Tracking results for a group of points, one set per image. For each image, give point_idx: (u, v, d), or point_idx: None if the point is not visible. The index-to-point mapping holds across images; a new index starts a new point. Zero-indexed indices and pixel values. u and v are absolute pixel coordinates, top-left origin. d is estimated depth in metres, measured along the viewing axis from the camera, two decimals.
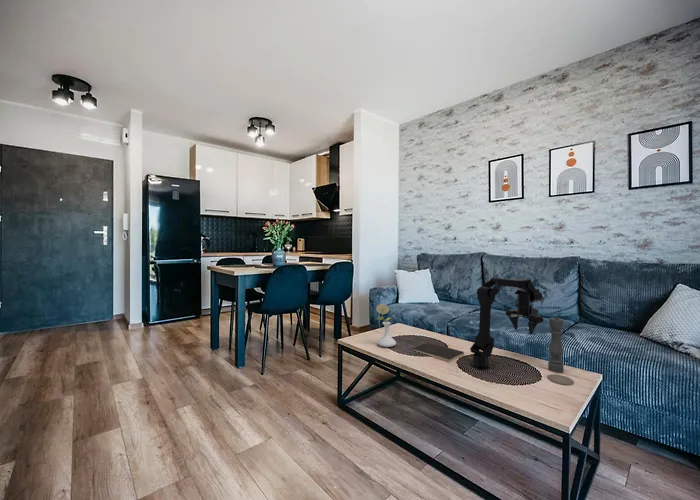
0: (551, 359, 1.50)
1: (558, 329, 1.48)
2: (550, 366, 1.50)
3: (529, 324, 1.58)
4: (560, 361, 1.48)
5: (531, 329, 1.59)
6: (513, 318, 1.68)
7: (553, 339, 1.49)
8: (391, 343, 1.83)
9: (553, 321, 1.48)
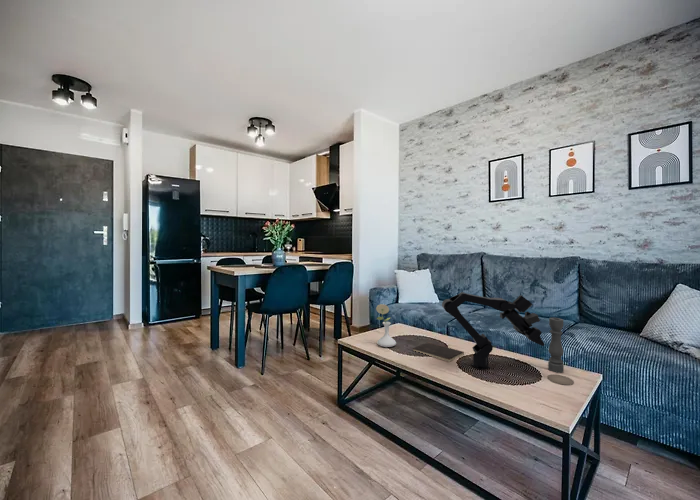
0: (551, 359, 1.50)
1: (558, 329, 1.48)
2: (550, 366, 1.50)
3: None
4: (560, 361, 1.48)
5: (538, 343, 1.46)
6: None
7: (553, 339, 1.49)
8: (391, 343, 1.83)
9: (553, 321, 1.48)
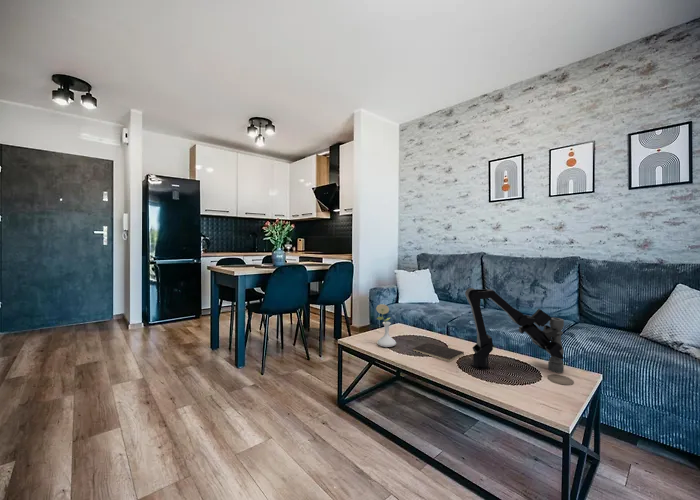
0: (551, 359, 1.50)
1: (558, 329, 1.48)
2: (550, 366, 1.50)
3: None
4: (560, 361, 1.48)
5: (557, 356, 1.46)
6: (543, 346, 1.54)
7: (553, 339, 1.49)
8: (391, 343, 1.83)
9: (553, 321, 1.48)
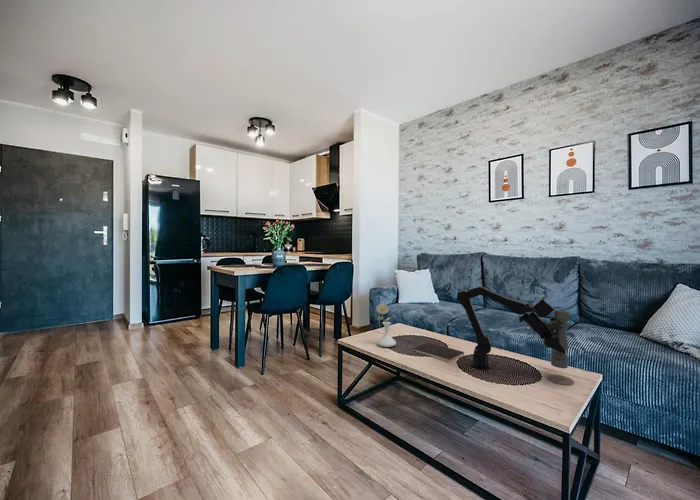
0: (554, 353, 1.40)
1: (562, 321, 1.38)
2: (552, 360, 1.40)
3: None
4: (563, 356, 1.38)
5: (558, 349, 1.37)
6: None
7: (556, 332, 1.40)
8: (391, 343, 1.83)
9: (556, 312, 1.39)
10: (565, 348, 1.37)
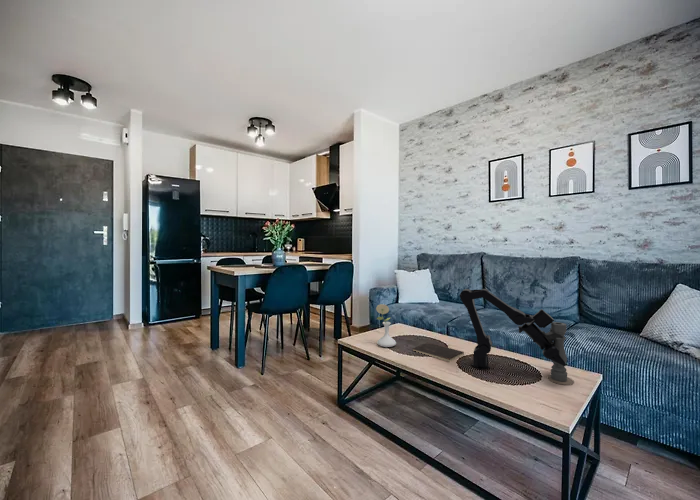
0: (553, 366, 1.40)
1: (559, 334, 1.37)
2: (551, 373, 1.40)
3: None
4: (562, 369, 1.37)
5: (558, 362, 1.35)
6: None
7: None
8: (391, 343, 1.83)
9: (553, 325, 1.39)
10: None
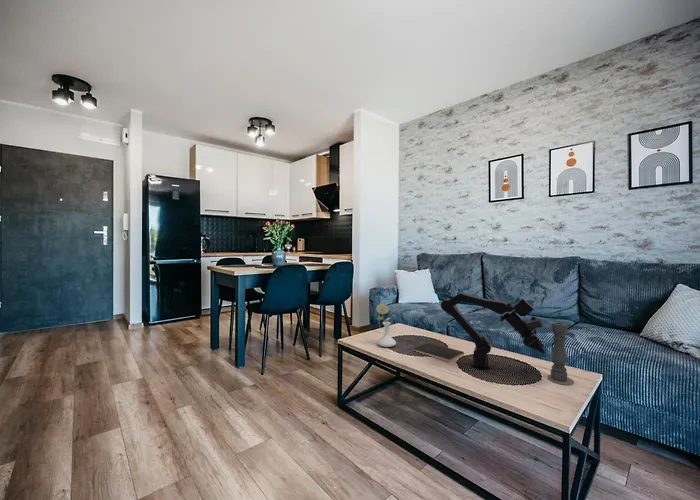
0: (553, 366, 1.40)
1: (560, 334, 1.37)
2: (551, 373, 1.40)
3: None
4: (562, 369, 1.37)
5: (537, 349, 1.38)
6: None
7: (555, 345, 1.39)
8: (391, 343, 1.83)
9: (554, 325, 1.39)
10: (564, 361, 1.37)
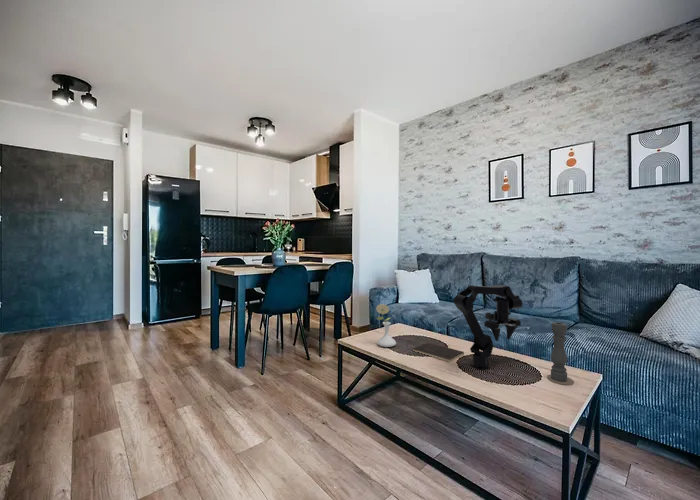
0: (553, 366, 1.40)
1: (559, 334, 1.37)
2: (551, 373, 1.40)
3: (514, 329, 1.58)
4: (562, 369, 1.37)
5: None
6: None
7: (555, 345, 1.39)
8: (391, 343, 1.83)
9: (554, 325, 1.39)
10: (564, 361, 1.37)
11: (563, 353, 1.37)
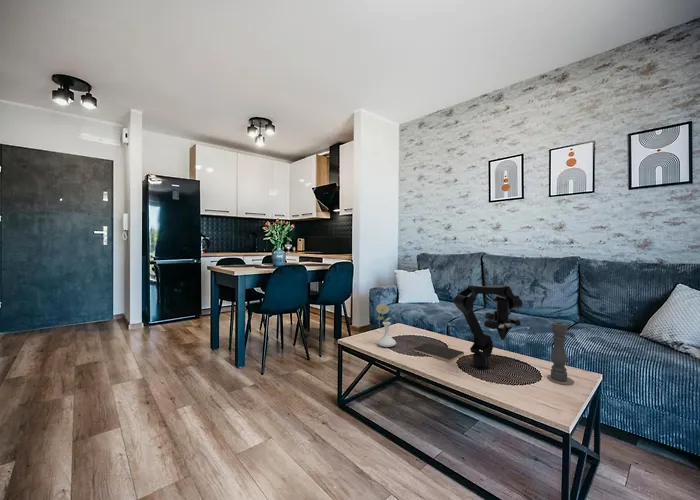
0: (553, 366, 1.40)
1: (559, 334, 1.37)
2: (551, 373, 1.40)
3: (508, 330, 1.57)
4: (562, 369, 1.37)
5: None
6: None
7: (555, 345, 1.39)
8: (391, 343, 1.83)
9: (554, 325, 1.39)
10: (564, 361, 1.37)
11: (563, 353, 1.37)
